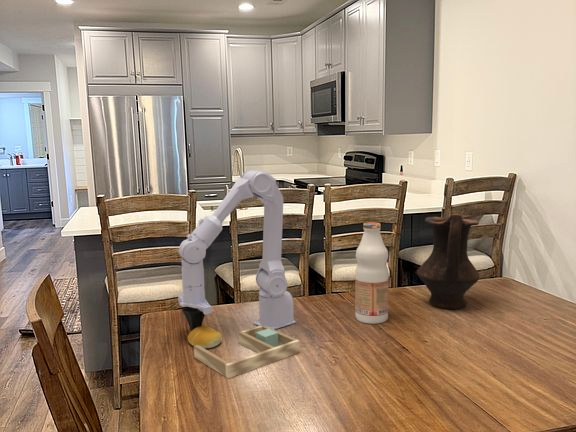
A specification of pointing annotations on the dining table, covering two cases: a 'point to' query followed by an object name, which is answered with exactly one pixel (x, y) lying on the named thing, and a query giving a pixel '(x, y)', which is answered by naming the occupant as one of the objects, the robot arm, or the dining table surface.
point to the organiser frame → (262, 357)
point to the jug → (449, 262)
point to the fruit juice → (371, 277)
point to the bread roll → (204, 337)
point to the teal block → (268, 337)
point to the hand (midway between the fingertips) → (195, 333)
